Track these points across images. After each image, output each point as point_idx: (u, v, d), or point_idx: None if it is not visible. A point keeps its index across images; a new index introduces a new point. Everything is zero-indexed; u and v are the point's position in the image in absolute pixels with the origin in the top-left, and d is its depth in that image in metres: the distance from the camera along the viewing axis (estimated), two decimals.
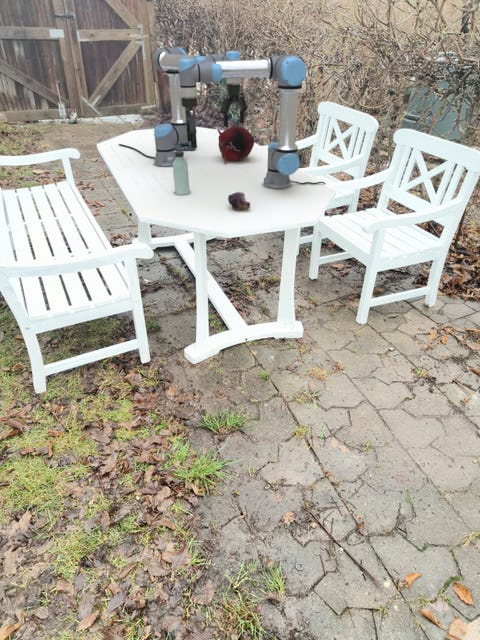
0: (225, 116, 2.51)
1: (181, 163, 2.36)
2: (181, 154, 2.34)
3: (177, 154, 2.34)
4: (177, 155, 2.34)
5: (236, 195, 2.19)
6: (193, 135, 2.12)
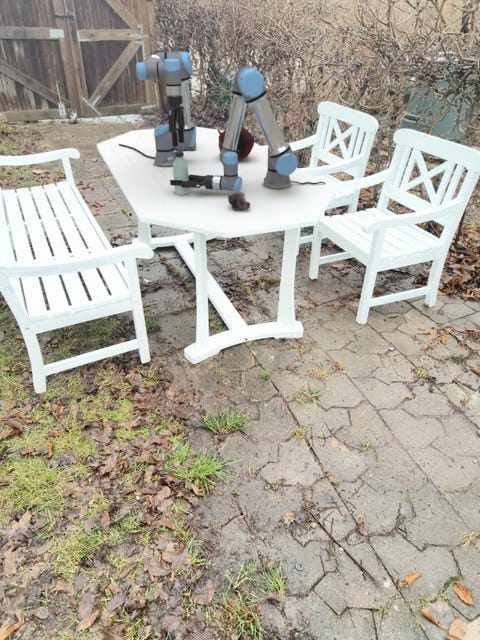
0: None
1: (181, 163, 2.36)
2: (181, 154, 2.34)
3: (177, 154, 2.34)
4: (177, 155, 2.34)
5: (236, 195, 2.19)
6: None
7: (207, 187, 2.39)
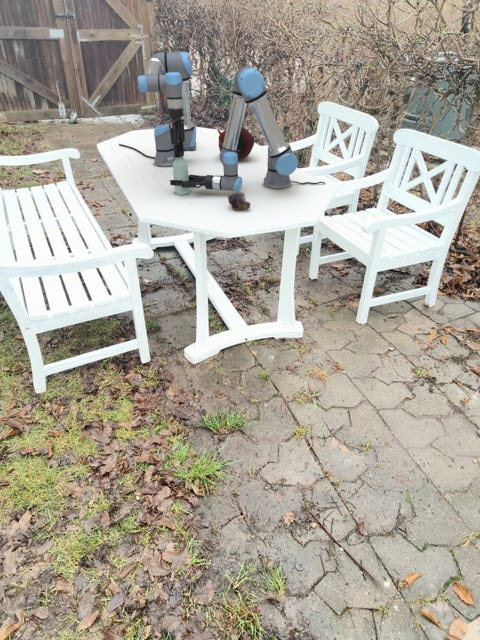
0: None
1: (181, 163, 2.36)
2: (181, 154, 2.34)
3: None
4: None
5: (236, 195, 2.19)
6: None
7: (207, 187, 2.39)
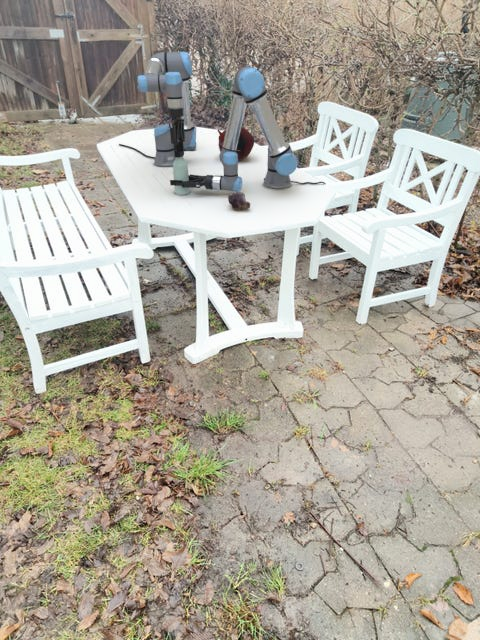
0: None
1: (181, 163, 2.36)
2: None
3: (183, 153, 2.35)
4: (183, 154, 2.35)
5: (236, 195, 2.19)
6: None
7: (207, 187, 2.39)
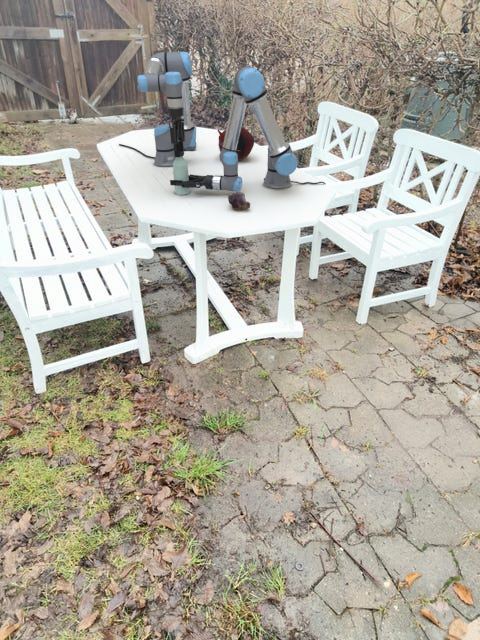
0: None
1: (181, 163, 2.36)
2: None
3: None
4: None
5: (236, 195, 2.19)
6: None
7: (207, 187, 2.39)
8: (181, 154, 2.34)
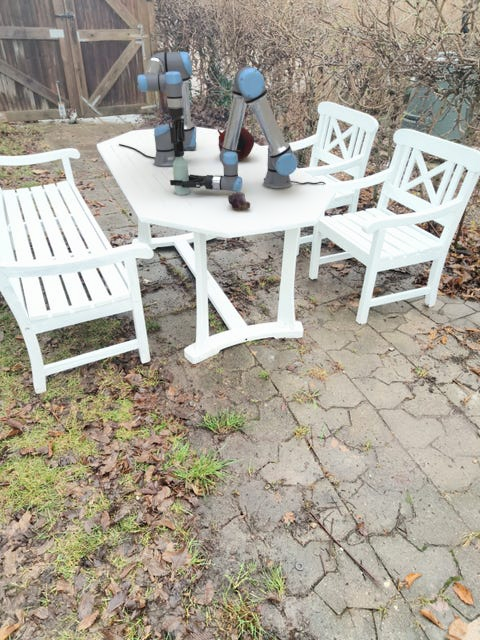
0: None
1: (181, 163, 2.36)
2: None
3: None
4: None
5: (236, 195, 2.19)
6: None
7: (207, 187, 2.39)
8: None
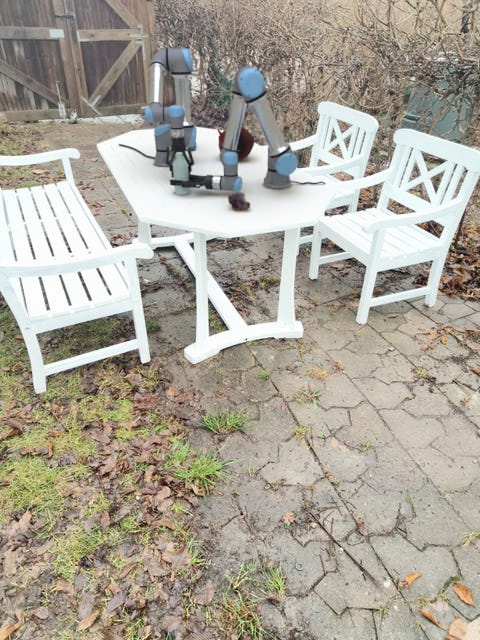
0: (170, 167, 2.59)
1: (181, 163, 2.36)
2: None
3: None
4: None
5: (236, 195, 2.19)
6: None
7: (207, 187, 2.39)
8: None
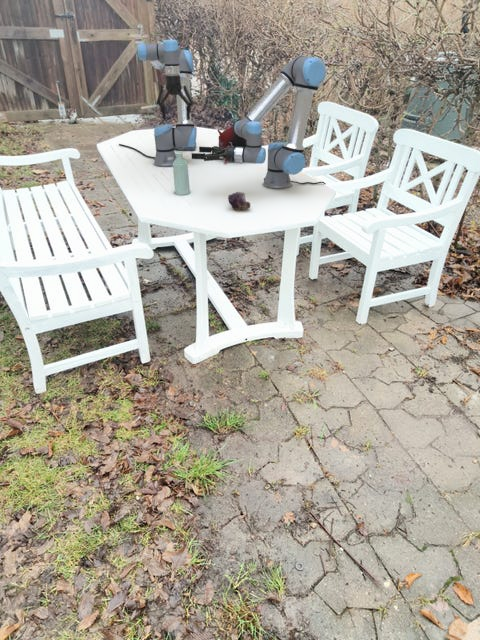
0: (161, 107, 2.41)
1: (181, 163, 2.36)
2: None
3: None
4: None
5: (236, 195, 2.19)
6: None
7: (229, 159, 2.29)
8: None
